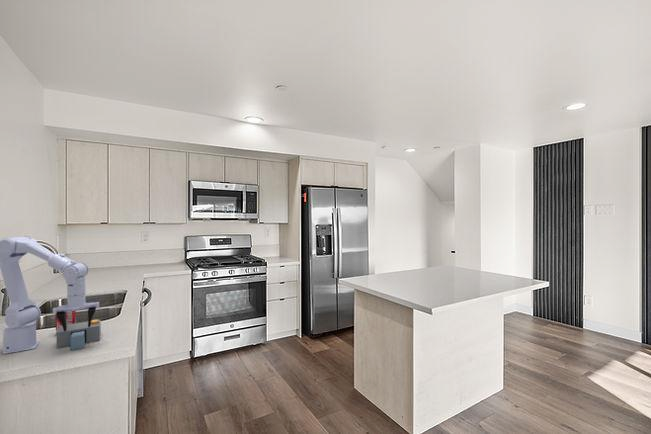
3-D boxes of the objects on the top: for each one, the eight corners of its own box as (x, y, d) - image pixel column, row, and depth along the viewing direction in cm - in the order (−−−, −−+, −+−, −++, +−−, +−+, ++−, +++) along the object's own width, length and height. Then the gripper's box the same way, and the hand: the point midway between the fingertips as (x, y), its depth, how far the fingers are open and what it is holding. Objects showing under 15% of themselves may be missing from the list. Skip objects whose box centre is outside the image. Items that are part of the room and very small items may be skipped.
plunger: (89, 333, 139) (89, 322, 138) (90, 330, 141) (90, 320, 141) (98, 331, 140) (98, 321, 140) (98, 329, 143) (98, 319, 143)
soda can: (58, 337, 141) (57, 309, 140) (53, 333, 145) (52, 306, 144) (78, 332, 146) (77, 305, 146) (73, 329, 150) (72, 303, 150)
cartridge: (71, 350, 128) (70, 337, 128) (74, 338, 139) (74, 327, 139) (83, 347, 130) (83, 335, 130) (86, 336, 141) (86, 325, 141)
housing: (56, 348, 130) (56, 332, 130) (60, 340, 138) (59, 325, 138) (99, 340, 138) (99, 325, 137) (100, 333, 145) (100, 319, 145)
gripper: (51, 299, 123) (52, 335, 123) (98, 293, 130) (99, 327, 131) (54, 295, 129) (55, 329, 129) (99, 290, 136) (100, 322, 137)
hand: (77, 328), depth 130 cm, fingers open, 7 cm apart
